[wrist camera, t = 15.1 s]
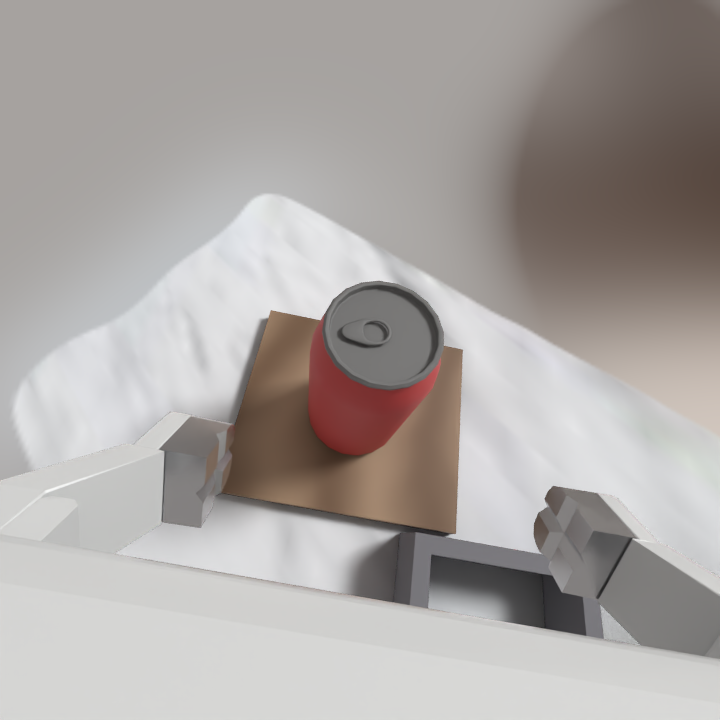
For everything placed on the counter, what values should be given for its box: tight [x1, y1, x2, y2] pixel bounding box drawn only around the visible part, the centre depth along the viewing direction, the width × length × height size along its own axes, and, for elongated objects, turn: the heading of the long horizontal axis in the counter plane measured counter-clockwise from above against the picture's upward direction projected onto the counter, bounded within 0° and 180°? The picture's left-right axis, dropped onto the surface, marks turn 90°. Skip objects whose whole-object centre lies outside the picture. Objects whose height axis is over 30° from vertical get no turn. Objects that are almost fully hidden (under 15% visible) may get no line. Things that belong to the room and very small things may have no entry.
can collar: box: [393, 532, 604, 639], centre depth 21 cm, size 11×11×4 cm
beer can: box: [308, 281, 444, 455], centre depth 22 cm, size 7×7×12 cm
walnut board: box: [221, 310, 463, 534], centre depth 28 cm, size 16×14×1 cm
